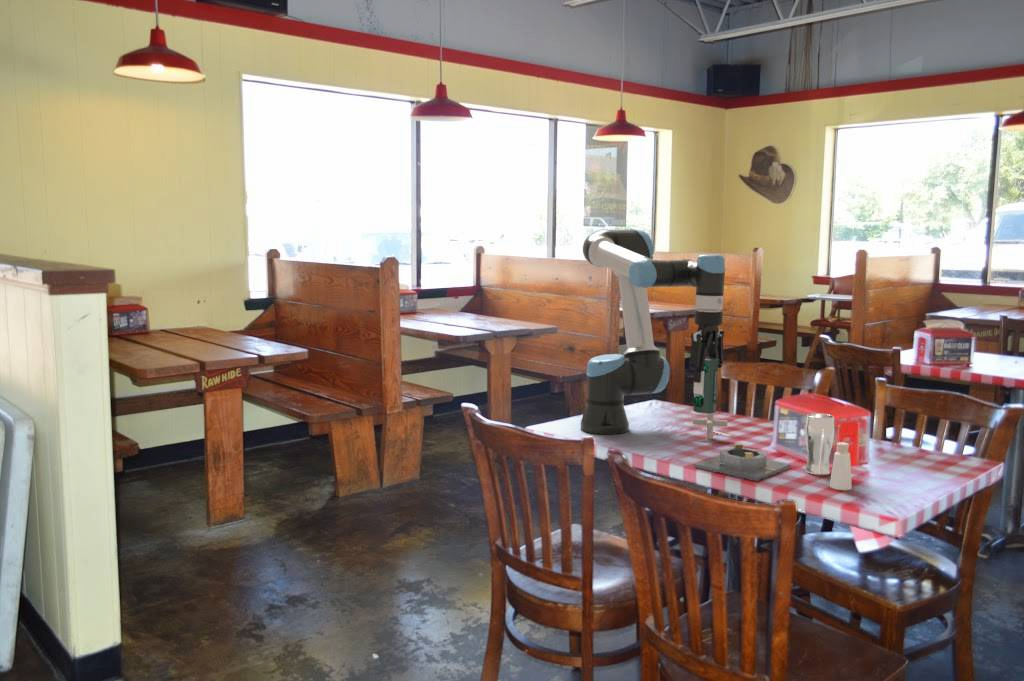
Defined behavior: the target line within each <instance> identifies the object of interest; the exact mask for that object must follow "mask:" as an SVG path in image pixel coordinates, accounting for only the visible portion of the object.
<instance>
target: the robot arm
mask: <svg viewBox="0 0 1024 681" xmlns="http://www.w3.org/2000/svg"><path fill="white" fill-rule="evenodd" d="M654 248H655V247H654V244H653V241H652V239H651V236H650V235H649V234H648V233H647V232H645V231H644V230H640V229H633V228H630V229H603V228H602V229H598V230H596V231H593V232H592V233H590V234H589V235H588V236H587V237H586V239H585V240H584V242H583V244H582V253H583V257H584V258H585V260H586V261H587V262H589V263H590V264H591V265H594V266H595V267H598V268H608V269H610V270H612V272H613V273H612V274H614V275H615V276H616V277H617V278H618V285H619V293H620V300H621V301H620V302H621V310H622V318H623V326H624V334H625V341H626V342H625V343H626V350H625V351H624V353H623V354H619V353H612V354H610V353H609V354H608V353H607V354H600V355H598V356H597V355H596V356H594V357H592V358H590V359H589V360H588V362H587V368H586V404H585V405H586V406H585V408H584V412H583V414H582V418H581V419H580V430H581V431H584V432H586V433H589V434H597V435H619V434H623V433H627V432H628V431H629V430H630V426H629V425H630V422H629V421H628V420H629V419H628V418H627V413H626V410H625V406H624V405H625V404H624V403H625V402H624V397H625V396H635V395H638V396H639V395H651V394H657V393H661V392H662V391H664V390H665V388H666V387H667V385H668V383H669V381H670V364H669V362H668V360H667V358H666V357H664V356H661V353H660V349H659V348H658V347H656V346H655V344H654V336H653V335H654V334H653V328H652V321H651V313H650V312H651V311H650V305H649V304H650V303H649V298H648V297H649V296H648V288H660V287H661V288H663V287H665V288H666V287H667V288H668V287H673V288H675V287H676V288H677V287H678V288H679V287H690V288H695V303H694V308H695V310H696V311H695V312H694V324H695V325H697V326H698V327H697V330H696V332H695V333H691V334H690V339H691V345H690V346H691V347H690V358H689V366H688V368H689V369H690V370H691V371H694V372H693V373H694V374H693V394H694V393H695V394H701V395H702V394H703V391H704V371H702V370H703V366H704V361H705V357H707V354H708V357H713V358H718V369H722V368H723V365H724V336H725V330H723V329H719V326H721V325H723V315H724V312H722V311H723V310H724V291H725V278H726V268H725V267H726V260H725V256H724V255H722V254H699V255H698V256H697V259H696V260H693V259H680V260H678V259H671V260H670V259H667V260H664V259H663V260H660V259H658V260H657V259H654V254H655V253H654V252H655V250H654ZM717 380H718V377H717ZM618 433H619V434H618Z"/></svg>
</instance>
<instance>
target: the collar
mask: <svg viewBox="0 0 1024 681" xmlns="http://www.w3.org/2000/svg"><path fill="white" fill-rule="evenodd" d="M743 445H744V444H743V443H733V447H728V448H724V449H721V450H720V451H719V455H717V456H715V457H712V458H709V459H705V460H703V461H699V462H697V463H694V468H695V469H699V470H704V471H708V472H712V471H713V472H712V473H716V472H720V473H719V474H721V473H725V474H724V475H726V474H729V475H728V476H730V475H733V476H732V477H735V476H737V477H736V478H739V477H740V479H744V478H746V479H745V480H748V479H750V481H753V480H754V481H753V482H759V481H762V480H764V479H766V477H767V478H769V477H771V475H772V476H774V475H776V473H777V474H779V473H781V472H780V471H782V472H783V470H784V471H786V470H785V469H787V468H789V469H791V468H792V467H791V465H792V464H791V463H786V462H781V461H776V460H771V459H767V456H768V455H767V454H766V453H764V452H763V451H762V450H758V449H753V448H748V447H744V446H743ZM790 467H791V468H790ZM787 470H788V469H787ZM778 472H779V473H778ZM768 476H769V477H768ZM763 478H764V479H763ZM761 479H762V480H761Z"/></svg>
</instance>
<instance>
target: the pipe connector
mask: <svg viewBox="0 0 1024 681" xmlns="http://www.w3.org/2000/svg"><path fill="white" fill-rule="evenodd" d="M714 414H715V413H709V414H707V415H706V416H707V418H693V420H692V425H695V426H696V425H700V426H706V429H707V430H706V439H707V440H713V438H714V437H713V436H714V433H713V431H714V427H715V426H717V427H728V420H726V419H714Z"/></svg>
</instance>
